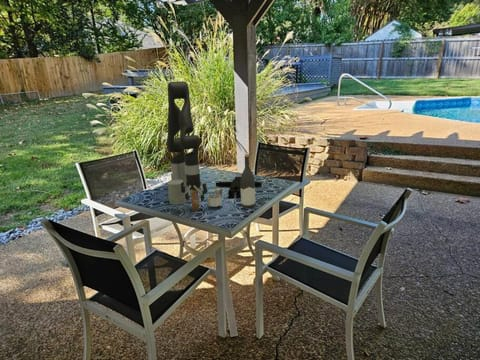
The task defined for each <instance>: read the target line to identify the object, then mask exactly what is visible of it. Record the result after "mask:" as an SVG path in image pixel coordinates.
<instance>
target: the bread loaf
mask: <svg viewBox="0 0 480 360" xmlns="http://www.w3.org/2000/svg"><path fill="white" fill-rule="evenodd" d="M189 192H190V202H191V210H192V211H199V210H200V200H199V192H198V191H197V190H191V189H190V190H189Z"/></svg>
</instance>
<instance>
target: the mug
mask: <svg viewBox="0 0 480 360" xmlns="http://www.w3.org/2000/svg"><path fill="white" fill-rule="evenodd" d="M222 190H223V189H222V187H217V188H215V190H214V193H212V194H208V196H207V197H206V201H207V206H209V207H215V208H216V207H219V206H221V205H222V202H223V191H222Z"/></svg>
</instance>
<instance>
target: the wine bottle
mask: <svg viewBox="0 0 480 360" xmlns="http://www.w3.org/2000/svg"><path fill="white" fill-rule="evenodd" d="M240 177H241V180H240V184H241V198H240V205H241V207H243V208H247V209H250V208H254V207H255V205H256V187H255V182H256V179H255V176H254V173H253V171H252V169H251V167H250V154H249V153H245V154H244V168H243V171H242V173H241V175H240Z"/></svg>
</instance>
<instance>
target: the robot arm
mask: <svg viewBox="0 0 480 360" xmlns="http://www.w3.org/2000/svg"><path fill="white" fill-rule="evenodd" d="M189 87H190V86H189V85H188V82H186V81H182V80H181V81H170V82H168V84H167V100H168V101H167V102H168V103H167V104H168V105H167V106H168V110H167V112H168V113H167V138H166V149H167V151H168V153H171V154H173V153H177V154H176V155H174V156H172V157H170V166H171V174H170V176H171V177H170V179H171V180H177V179H179V180H183V182H182V183H181V192H182V193H185V200H186V201H189V199H190V195H189V192H190V189H191V190H197V191H198V194H200V201H201V202H203V201H204V200H205V195H206V194H207V193H208V189H207V188H208V187H207V182H206V181H205V182H201V174H200V173H201V172H200V165H199V150H200V146H201V139H200V137H199V135H197V134H192V135H189V134H191V133H193V132H194V130H195V128H194V123H193V119H192V109H191V108H192V107H191V98H190V97H191V96H190V88H189ZM175 100H183V105H182V108H181V109H180V108H179V106H178V105H177V103H176V101H175ZM179 132H180V137H176V136H177V134H179ZM185 150H186V151H187V150H191V151H190V152H186V153H185Z"/></svg>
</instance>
